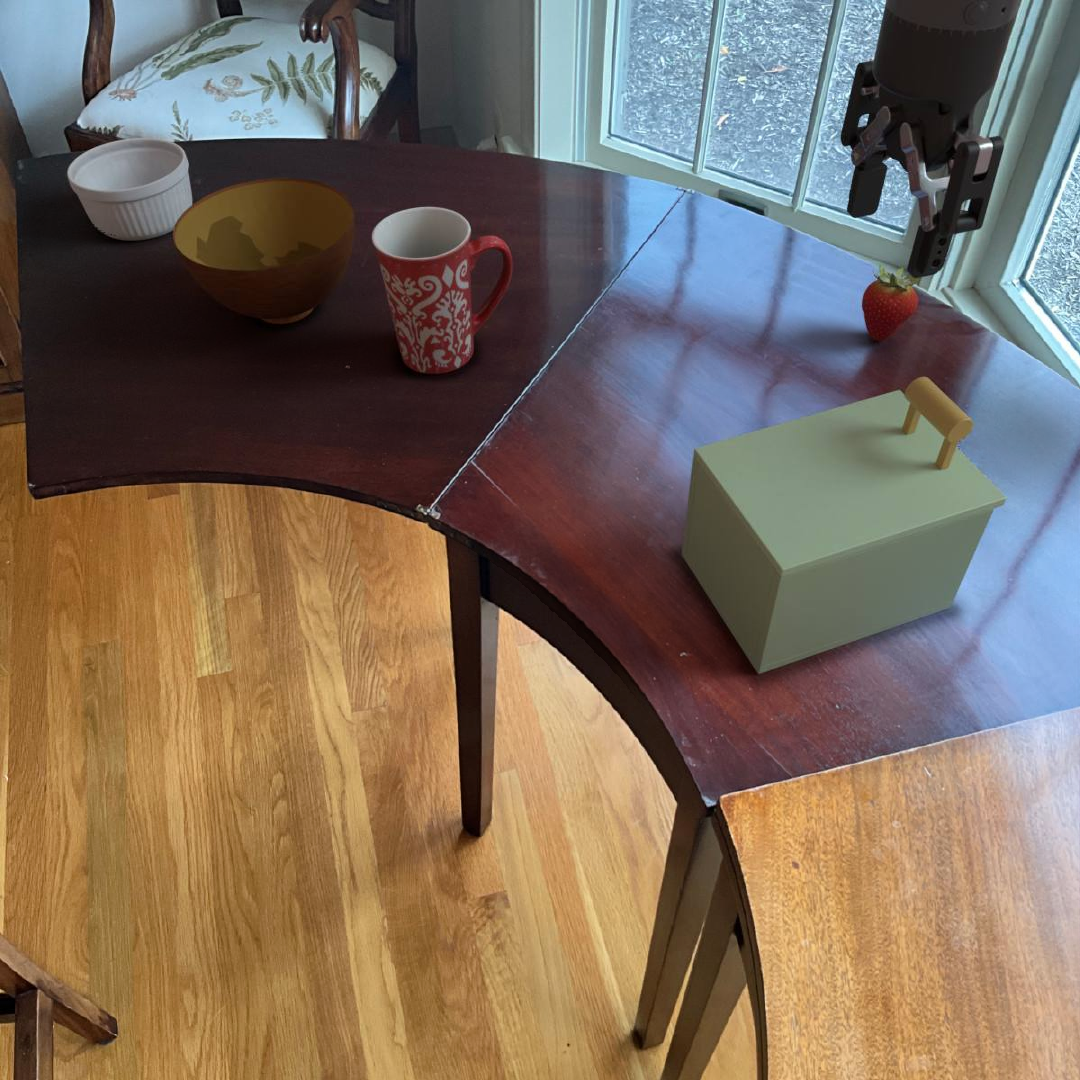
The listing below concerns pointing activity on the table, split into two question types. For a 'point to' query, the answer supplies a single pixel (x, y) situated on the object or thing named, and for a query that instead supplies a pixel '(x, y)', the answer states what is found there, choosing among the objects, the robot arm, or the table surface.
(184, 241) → the bowl
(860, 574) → the chest
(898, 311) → the fruit
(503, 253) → the mug
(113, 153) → the ramekin
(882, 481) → the lid
